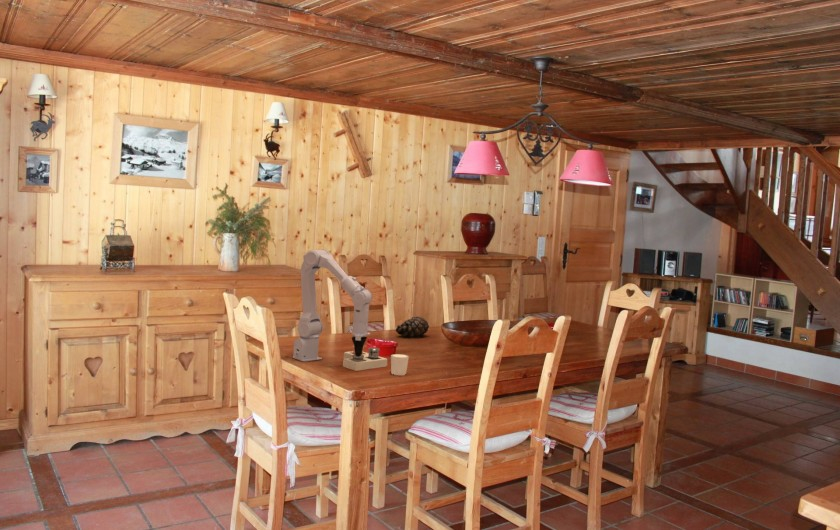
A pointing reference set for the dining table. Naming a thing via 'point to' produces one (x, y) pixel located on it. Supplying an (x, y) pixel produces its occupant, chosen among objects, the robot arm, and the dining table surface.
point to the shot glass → (399, 364)
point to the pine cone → (413, 328)
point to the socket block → (363, 362)
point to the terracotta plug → (354, 350)
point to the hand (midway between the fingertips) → (358, 355)
